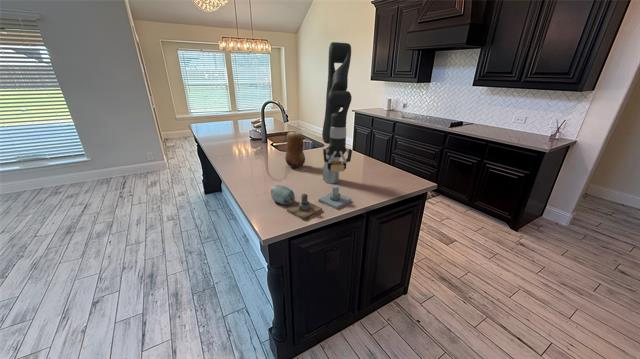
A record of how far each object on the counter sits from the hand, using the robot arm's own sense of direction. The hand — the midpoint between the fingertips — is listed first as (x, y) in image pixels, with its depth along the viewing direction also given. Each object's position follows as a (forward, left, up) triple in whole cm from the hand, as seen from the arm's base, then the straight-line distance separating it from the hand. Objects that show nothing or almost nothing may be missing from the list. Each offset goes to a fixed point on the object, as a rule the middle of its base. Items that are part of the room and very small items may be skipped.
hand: (336, 169), depth 124 cm
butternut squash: (-53, +21, -18) cm, 60 cm away
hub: (0, 0, -17) cm, 17 cm away
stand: (-4, -18, -17) cm, 26 cm away
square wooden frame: (0, 0, 0) cm, 0 cm away
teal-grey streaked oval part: (-19, -19, -18) cm, 32 cm away
